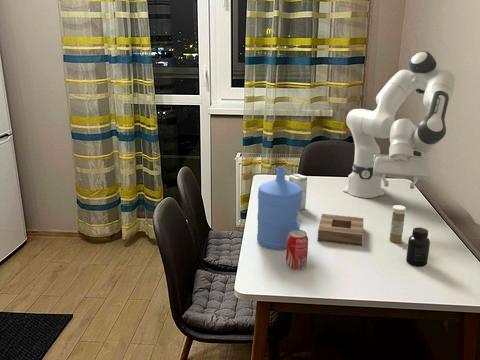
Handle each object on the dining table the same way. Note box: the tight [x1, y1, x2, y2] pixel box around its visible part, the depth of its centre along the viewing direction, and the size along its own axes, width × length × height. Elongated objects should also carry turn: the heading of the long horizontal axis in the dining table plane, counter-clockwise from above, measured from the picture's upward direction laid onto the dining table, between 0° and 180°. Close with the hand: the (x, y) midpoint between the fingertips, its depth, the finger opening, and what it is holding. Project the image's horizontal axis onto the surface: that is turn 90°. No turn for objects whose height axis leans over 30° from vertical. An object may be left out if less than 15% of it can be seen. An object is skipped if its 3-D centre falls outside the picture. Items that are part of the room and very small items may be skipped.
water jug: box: [256, 166, 302, 251], centre depth 174 cm, size 16×16×28 cm
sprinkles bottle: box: [389, 204, 407, 244], centre depth 177 cm, size 5×5×13 cm
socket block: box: [316, 213, 364, 247], centre depth 183 cm, size 16×16×4 cm
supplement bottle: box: [405, 227, 431, 268], centre depth 161 cm, size 7×7×12 cm
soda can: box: [285, 229, 309, 271], centre depth 158 cm, size 7×7×12 cm
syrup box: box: [288, 173, 308, 211], centre depth 207 cm, size 6×6×14 cm
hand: (399, 187), depth 185 cm, fingers open, 8 cm apart
